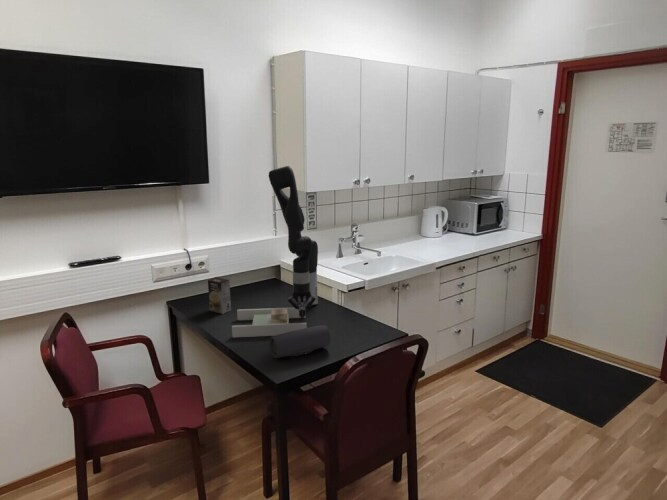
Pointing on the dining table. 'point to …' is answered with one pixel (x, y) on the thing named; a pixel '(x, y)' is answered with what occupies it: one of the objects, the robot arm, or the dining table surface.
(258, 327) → the track
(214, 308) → the coffee box
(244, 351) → the dining table surface
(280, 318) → the birch block
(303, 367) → the dining table surface
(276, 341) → the bluetooth speaker
